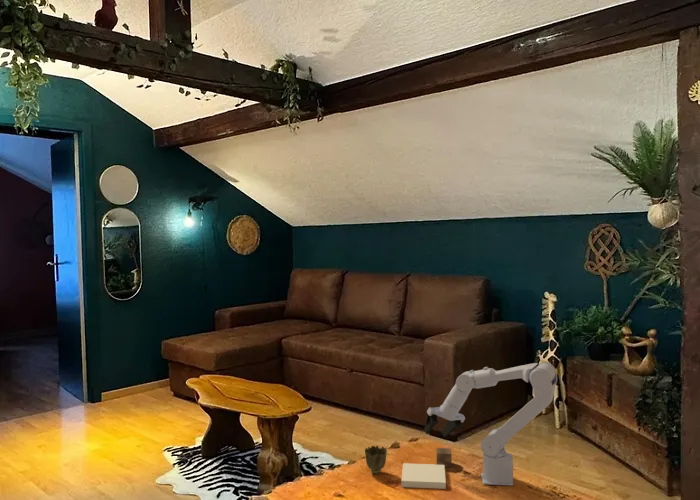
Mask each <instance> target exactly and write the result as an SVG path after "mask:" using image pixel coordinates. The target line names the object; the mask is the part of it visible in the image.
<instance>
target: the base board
mask: <svg viewBox="0 0 700 500" xmlns="http://www.w3.org/2000/svg"><path fill="white" fill-rule="evenodd" d="M446 484H447V481H446V468H445V466H444V465H437V464H434V463H433V464H431V463H430V464H429V463H410V462H409V463H407V462H404V463H402V472H401V485H400V486H401V488H419V489H420V488H423V489H440V490H441V489H443V490H446V489H447V488H446V487H447V485H446Z"/></svg>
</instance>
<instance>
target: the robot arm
mask: <svg viewBox="0 0 700 500" xmlns="http://www.w3.org/2000/svg"><path fill="white" fill-rule="evenodd" d="M557 374H558V373H557V369H556V368H555V366H554V365H553V364H552V363H550V362H544V361H543V362H540V363H538V362H533V363H528V364H527V363H526V364H524V365H523V364H522V365H518V366H514V367H508V368H504V369H501V370H500V369H499V370H496V369H494V368H493V367H492V368H491V367H490V368H489V367H488V366H485V367H483V368H482V369H478V370H474V369H471V370H468V371H467V370H466V371H464V372H463V373H461V374H460V375H459V376H457V378H456V380H455V384H454V386H453V387H452V388H451V390H450V392H449V393H448V394H447V396H446V398H445V399H444V401H443V403H442V404H441V405H440V406H437V407H428V409H427V410H426V421H425V425H424V433H425V434H427V435H429V433H430V432H431V430H432V429H434V427H435V426H436V425H437V424H439V420H438V417H440V418H443V419H444V420H447V422H446V424H445V425H444V427H443V430H442V432H441V434H442V436H443V437H444V438H447V437H448V436H449V435H450V434H451V433H453V432H454V431H455V430H457V429H459V428H461V427H462V423H464V421H465V419H466V417H465V415H464V414H462V413H459V412H460V411H461V409H462V407H463V406H464V404H465V402H466V401H467V399H468V397H469V395H470V393H471V391H472V389H478V390H479V389H483V388H490V387H495V386H496V385H497V384H498V383H499V382H502V381H509V380H517V379H522V380H523V381H524V382H525V383H529V382H530V384H531V386H532V388H533V393H534V397H533V398H532V399H531V400H530V401H528V402H527V403H526V404H525V405H524V406H523V407H522V408H520V409H519V410H518V411H517V412H516V413H515V414H514V415H513V416H512V417H511V418H509V419H508V420H507V421H505V423H504V424H502V425H501V426H500V427H498V428H494V429H492V430H491V431H490V432H489V433H488V435H486V436H485V437H484V438H483V439H482V440H481V442H480V449H481V451H482V452H483V453H482V456H483V457H482V462H483V463H482V465H483V466H482V467H483V468H482V472H481V473H480V476H481V481H482V484H483V485H492V486H493V485H494V486H497V485H498V486H514V461H513V454H511V453H509V452H508V453H507V451H506V449H505V447H506V446H507V444H508V442H509V440H510V439H512V438H513V437H514V436H515V435H516V434H517V433H519V432H520V431H521V430H522V429H523V428H524V427H525V426H526V425H528V424H529V423H530V422H531V421H532V420H534V419H535V418H536V417H537V416H538V415H539V414H541V412H543V410H545V409H546V408H548V407H549V405H550V404H552V402H553V401H554V396H555V390H556V385H557V383H558V375H557Z"/></svg>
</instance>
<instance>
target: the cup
mask: <svg viewBox="0 0 700 500" xmlns="http://www.w3.org/2000/svg"><path fill="white" fill-rule="evenodd" d="M364 449H365V450H364V453H365V456H364V457H365V463H366V465H367V467H368V468H369V469H370V473H371V474H373V475H380V474H381V472H382V469H383V468H384V466H385V465H386V460H387V453H388V450H387V448H386V447H384V446H381V448H379V445H376V446H375V445H372V446H368V447H366V448H364Z"/></svg>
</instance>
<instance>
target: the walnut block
mask: <svg viewBox="0 0 700 500" xmlns="http://www.w3.org/2000/svg"><path fill="white" fill-rule="evenodd" d="M452 457H453V456H452V449H451V448H450V447H449V448H446V447H444V448H443V447H436V465H444V466H445V469H452V463H453V462H452V461H453V460H452Z"/></svg>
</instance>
